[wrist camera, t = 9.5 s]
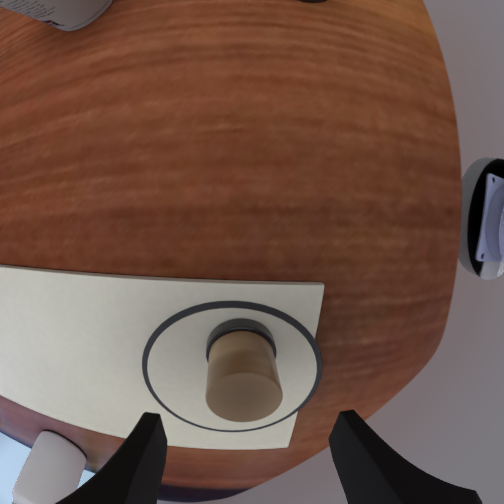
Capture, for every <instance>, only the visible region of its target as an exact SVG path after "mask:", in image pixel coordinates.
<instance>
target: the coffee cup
mask: <svg viewBox="0 0 504 504" xmlns="http://www.w3.org/2000/svg"><path fill="white" fill-rule="evenodd" d="M112 1H113V0H0V7H3V8H6V9H9V10H12V11H15V12H18V13H21V14H24V15H26V16H29V17H32V18H34V19H37V20H39V21H42V22H44V23H47V24H49V25H52V26H54V27H56V28H59V29H61V30H64V31H73V30H78V29H80V28H82V27H85V26H87V25H88V24H90V23H91V22H93V21H94V20H96V19H97V18H98V17H99V16H100V15H102V14H103V13H104V12H105V11H106V9H107V8H108V7H109V6H110V5H111V3H112Z"/></svg>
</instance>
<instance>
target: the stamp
mask: <svg viewBox="0 0 504 504" xmlns="http://www.w3.org/2000/svg"><path fill="white" fill-rule="evenodd" d="M276 354H277V351H276V346H275V342H274V338H273V336H272V334H271V332H270V331H269V330H268V329H267V328H266V327H265V326H264V325H263V324H261V323H259V322H257V321H254V320H251V319H244V318H238V319H232V320H228V321H225V322H223V323H221V324H220V325H218V326H217V327H216V328H215V329H213V331H212V332H211V333H210V335H209V337H208V340H207V346H206V359H207V362H208V371H207V382H206V394H205V400H206V403H207V406H208V407H209V409H210V410H211V411H212V412H213V413H214V414H215V415H217V416H219V417H220V418H223V419H225V420H228V421H233V422H253V421H257V420H261V419H263V418H265V417H267V416H269V415H271V414H272V413H273V412H275V411H276V410H277V409H278V407H279V406H280V404H281V402H282V398H283V392H282V388H281V383H280V379H279V375H278V370H277V366H276V362H275V359H276Z"/></svg>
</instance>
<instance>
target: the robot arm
mask: <svg viewBox="0 0 504 504" xmlns="http://www.w3.org/2000/svg"><path fill="white" fill-rule="evenodd" d="M474 257H475V260H477V261H491V262H504V179H502V178H500V177H498V176H495V175H493V174H490V173H487V175H486V179H485V192H484V201H483V210H482V217H481V224H480V230H479V235H478V241H477V246H476V251H475V256H474ZM167 442H168V441H167V437H166V434H165V430H164V427H163V423H162V419H161V416H160V414H158V413H151V412H144V413H143V414H142V416H141V418H140V419H139V421H138V422H137V424H136V425H135V427H134V428H133V430H132V431H131V433H130V434H129V436H128V437H127V438H126V440H125V441H124V442H123V443H122V445H121V446H120V447H119V449H118V450H117V451H116V452H115V454H114V455H113V456H112V457H111V458H110V459H109V460H108V461H107V463H106V464H105V465H104V466H103V467H102V468H101V469H100V470H99V471H98V472H97V473H96V474H95V475H94V476H93V477H92V478H91V479H89V480H88V481H87V482H86V483H84V484H83V485H82V486H81V487H79V488H78V489H77V490H75V491H74V492H73V493H71V494H70V495H68V496H66V497H65V498H63V499H61V500H60V501H58V502H56V503H55V504H156V503H157V498H158V494H159V489H160V485H161V480H162V476H163V471H164V467H165V462H166V453H167ZM329 444H330V449H331V453H332V458H333V461H334V464H335V467H336V469H337V472H338V475H339V478H340V481H341V484H342V486H343V489H344V492H345V495H346V498H347V501H348V504H482V501H481V499H480V498H479V496H478V494H477V492H476V491H475V490H470V489H466V488H462V487H458V486H455V485H453V484H450V483H447V482H444V481H442V480H440V479H438V478H435V477H434V476H432V475H430V474H427V473H426V472H424V471H422V470H421V469H419V468H417V467H416V466H414V465H413V464H411V463H410V462H408V461H407V460H406V459H404V458H403V457H402V456H401V455H399V454H398V453H397V452H396V451H394V450H393V449H392V448H391V447H390V446H389V445H388V444H387V443H386V442H384V441H383V440H382V439H381V438H380V437H379V436H378V435H377V434H376V433H375V432H374V431H373V430H372V429H371V428H370V427H369V426H368V425H367V424H366V423H365V421H364V420H363V419H362V418H361V417H360V416H359V415H358V414H357V413H356V412H355V411H354V410H348V411H341V412H340V413H339V415H338V418H337V420H336V423H335V425H334V427H333V430H332V432H331V434H330V436H329Z"/></svg>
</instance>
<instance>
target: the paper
mask: <svg viewBox="0 0 504 504" xmlns="http://www.w3.org/2000/svg"><path fill="white" fill-rule="evenodd" d="M324 286H325V285H324V284H323V283H322V282H277V281H238V280H209V279H186V278H165V277H147V276H130V275H115V274H100V273H87V272H74V271H62V270H51V269H40V268H30V267H20V266H10V265H1V264H0V395H2V396H4V397H6V398H8V399H10V400H12V401H14V402H16V403H18V404H21V405H23V406H25V407H27V408H30V409H32V410H35V411H37V412H39V413H42V414H45V415H47V416H50V417H52V418H55V419H58V420H61V421H64V422H67V423H70V424H73V425H76V426H79V427H83V428H86V429H90V430H93V431H97V432H101V433H105V434H109V435H113V436H118V437H122V438H127V437H128V436H129V434H130V433H131V431H132V430H133V428H134V427H135V425H136V424H137V422H138V421H139V419H140V418H141V416H142V414H143V413H144V412H151V413H158V414H160V416H161V419H162V423H163V427H164V430H165V434H166V437H167V441H168V442H167V445H171V446H180V447H191V448H205V449H271V448H285V447H288V445H289V442H290V438H291V435H292V431H293V428H294V424H295V421H296V417H297V413H298V411H299V410H300V409H301V408H302V407H303V406H304V405H305V404H306V403H307V402H308V401H309V400H310V398H311V397H312V396H313V394H314V392H315V391H316V389H317V387H318V384H319V382H320V379H321V374H322V357H321V352H320V350H319V347H318V344H317V343H316V341H315V336H316V331H317V326H318V320H319V315H320V310H321V304H322V298H323V292H324ZM238 318H244V319H251V320H254V321H257V322H259V323H261V324H263V325H264V326H265V327H266V328H267V329H268V330H269V331H270V332H271V334H272V336H273V338H274V342H275V346H276V351H277V354H276V359H275V362H276V366H277V370H278V375H279V379H280V383H281V388H282V392H283V398H282V402H281V404H280V406H279V407H278V409H277V410H276V411H275V412H273V413H272V414H271V415H269V416H267V417H265V418H263V419H261V420H257V421H253V422H233V421H228V420H225V419H223V418H220V417H219V416H217V415H215V414H214V413H213V412H212V411H211V410H210V409H209V407H208V406H207V403H206V400H205V394H206V382H207V371H208V362H207V359H206V346H207V340H208V337H209V335H210V333H211V332H212V331H213V329H215V328H216V327H217V326H218V325H220V324H221V323H223V322H225V321H228V320H232V319H238Z"/></svg>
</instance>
